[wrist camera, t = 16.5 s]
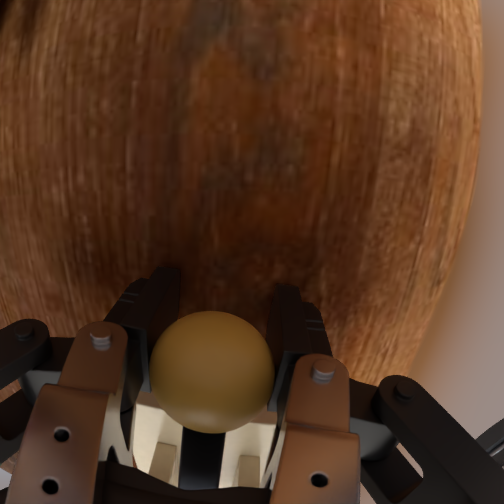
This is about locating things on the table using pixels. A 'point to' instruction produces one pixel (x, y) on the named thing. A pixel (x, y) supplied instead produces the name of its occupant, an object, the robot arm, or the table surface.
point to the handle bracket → (169, 445)
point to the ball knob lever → (210, 386)
